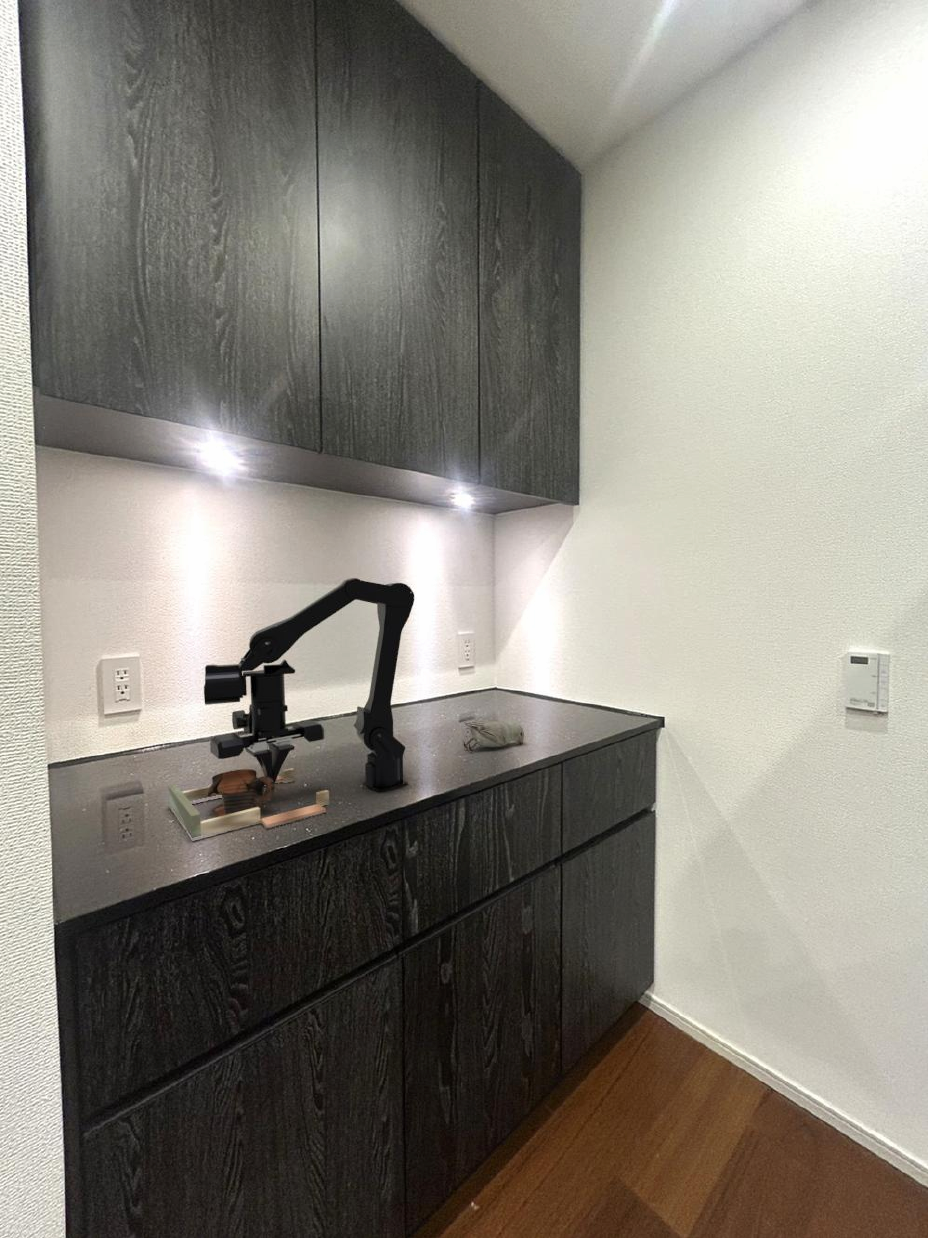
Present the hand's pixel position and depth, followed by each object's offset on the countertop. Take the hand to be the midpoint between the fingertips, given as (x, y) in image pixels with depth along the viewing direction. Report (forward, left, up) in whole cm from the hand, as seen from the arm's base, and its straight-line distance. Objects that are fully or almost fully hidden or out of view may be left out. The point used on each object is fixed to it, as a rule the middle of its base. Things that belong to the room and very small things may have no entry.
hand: (271, 785), depth 98 cm
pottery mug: (+5, +1, -3) cm, 6 cm away
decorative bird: (-53, +1, -3) cm, 54 cm away
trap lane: (+3, 0, -3) cm, 4 cm away
